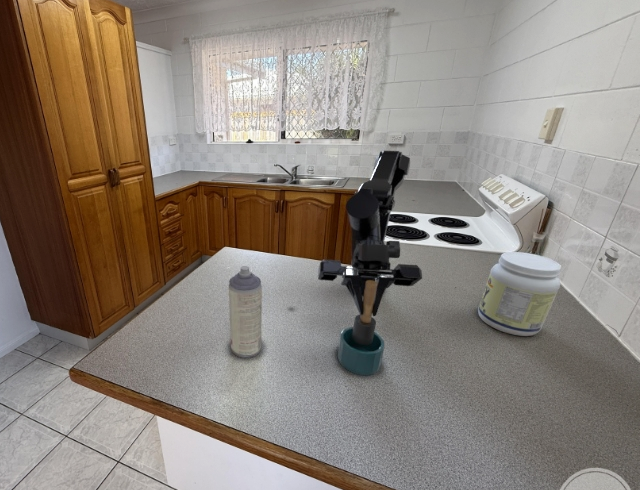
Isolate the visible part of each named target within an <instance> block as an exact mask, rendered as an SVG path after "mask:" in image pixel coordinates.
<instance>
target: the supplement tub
mask: <svg viewBox="0 0 640 490" xmlns="http://www.w3.org/2000/svg"><path fill="white" fill-rule="evenodd" d="M561 269H562V265H561V264H560V263H558V262H557V261H555V260H553V259H551V258H549V257H546V256H542V255H539V254H534V253H529V252H523V251H522V252H521V251H507V252H503V253H502V254H501V255H500V257H499V259H498V263H496V264H494V265H493V266H492V267H491V269H490V272H489V275H488V278H487V281H486V285H485V288H484V290H483V294H482V297H481V299H480V302H479V305H478V309H477V312H478V313H477V314H478V316H479V318H480V319H481V321H483V322H484V323H485V324H487V325H488V326H489V327H492V328H493V329H496V330H498V331H500V332H503V333H505V334H508V335H509V334H510V335H514V336H521V337H531V336H535V335H537V334H538V333H540V331H541V330H542V328H543V326H544V323H545V321H546V319H547V317H548V314H549V313H550V310H551V308H552V305H553V303H554V301H555V299H556V296H557V294H558V292H559V289H560V288H561V280H560V278H559V276H560V274H561Z"/></svg>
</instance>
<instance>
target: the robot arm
mask: <svg viewBox="0 0 640 490" xmlns="http://www.w3.org/2000/svg"><path fill="white" fill-rule="evenodd" d="M410 166H411V158H410V157H409V156H407V155H404V154H403V152H402V151H400V150H381V151H379V155H377V156H376V157H375V160H374V165H373V169H372V170H373V172H372V175H371V178H370V179H369V180H368V181H365V182H362V183H361V185H360V187H359V188H358V190H357V191H355V192H354V194H353V195H351V197H349V199H348V200H347V201H346V203H345V209H346V213H347V219H348V222H349V226H350V241H351V246H350V248H351V249H350V250H351V251H350V255H351V266H343V265H342V263H341V260H335V259H322V260H321V261H320V262H319V265H318V269H317V270H318V271H317V280H319V281H325V282H327V281H328V282H333V281H335V280H336V279H337V278H338V276H339V277H340V276H341V279H342V281H341V283H340V284H341V285H342V286H343V287H344V286H345V287H346V288H347V289H346V290H348V292H349V294H350V295H351V297H352V300H353V301H354V304H355V306H356V309H357V311H358V313H359V315H363V296H364V291H365V284H366V281H368V280H372V281H375V282H377V288H376V294H375V300H374V305H373V311H372V317H376V316H377V315H378V311H379V307H380V305H381V301H382V299H383V295H384V293H385V291H386V290H387V289H389V288H390V287H391V286H392V285H395V286H399V287H412V286H414V285H416V284H417V283H419V281H421V280H423V272H422V271H423V270H422V269H421V268H420V266H418V264H405V263H398V264H397V265H396V266H395V267H394V268H393V269H392V268H391V265H392V264H391V262H390V259H399V258H400V256H401V243H400V240H387V241H386V243H385V240H386V235H387V230H388V227H389V226H388V225H389V222H390V218H391V212H392V211H393V210H394V207H395V205H396V200H395V194H396V192H397V190H398V189H399V188H400V187H401V186H402V185H403V184H404V183H405V178H406V176H409V172H410Z"/></svg>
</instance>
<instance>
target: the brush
mask: <svg viewBox="0 0 640 490" xmlns="http://www.w3.org/2000/svg"><path fill="white" fill-rule="evenodd" d="M376 288H377V282H375V281H372V280H368V281H366V284H365V291H364V295H363V296H362V299H363V315H360V314H357V315H356V316H355V317H354V320H353V326H352V327H353V333H352V339H353V340H354V341H355V342H357V343H359V344H362V345H369V344H371V343H372V342H373V337H374V332H375V333H376V326H377V321H376V319H375V318H374V317H373V314H372V311H373V305H374V300H375V294H376Z"/></svg>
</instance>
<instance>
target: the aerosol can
mask: <svg viewBox="0 0 640 490" xmlns="http://www.w3.org/2000/svg"><path fill="white" fill-rule="evenodd" d="M262 292H263V286H262V280H261V278H260V277H259V276H257V275H256V274H254V273H253V272H252V271H250V267H249V266H248V265H242V266H240V271H239V272H237V273H236V274H235V275H233V276H232V277H231V278H230V279H229V280H228V307H229V308H228V309H229V330H230V331H229V333H230V350H231V352H232V353H233V355H234V356H236V357H238V358H241V359H242V358H243V359H251V358H254V357H256V356H257V355H259V354H260V352H261V351H262V307H263V306H262V305H263V303H262V302H263V300H262V297H263V296H262V294H263V293H262Z"/></svg>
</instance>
